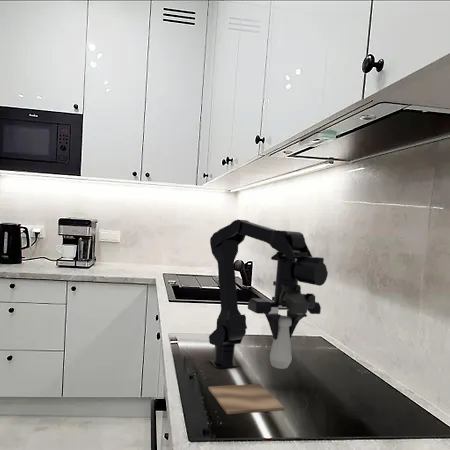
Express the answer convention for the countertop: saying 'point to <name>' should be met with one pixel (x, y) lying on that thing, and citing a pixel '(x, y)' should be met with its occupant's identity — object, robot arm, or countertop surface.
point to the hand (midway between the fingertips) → (281, 339)
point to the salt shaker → (282, 345)
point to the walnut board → (245, 398)
